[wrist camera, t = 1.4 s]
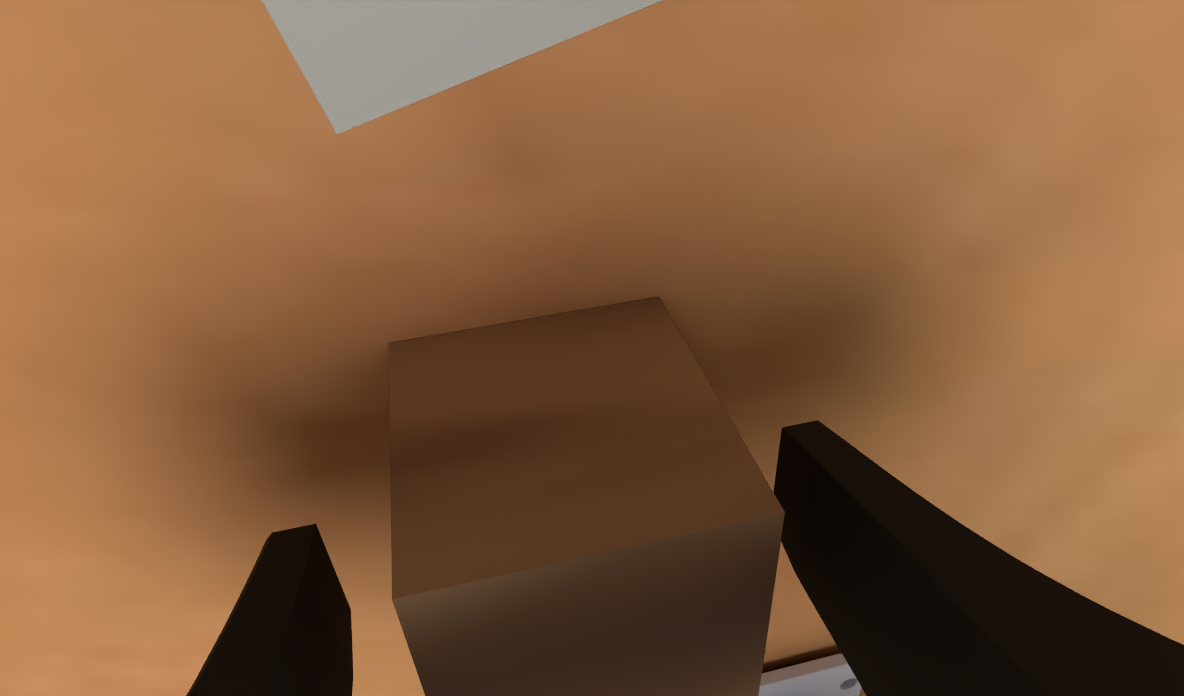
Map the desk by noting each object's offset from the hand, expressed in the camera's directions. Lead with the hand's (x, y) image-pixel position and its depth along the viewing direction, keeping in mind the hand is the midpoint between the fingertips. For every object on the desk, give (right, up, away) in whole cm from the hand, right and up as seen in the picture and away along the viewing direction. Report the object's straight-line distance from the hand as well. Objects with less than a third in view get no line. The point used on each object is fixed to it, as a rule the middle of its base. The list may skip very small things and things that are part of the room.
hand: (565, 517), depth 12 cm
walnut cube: (-1, +1, +2) cm, 3 cm away
